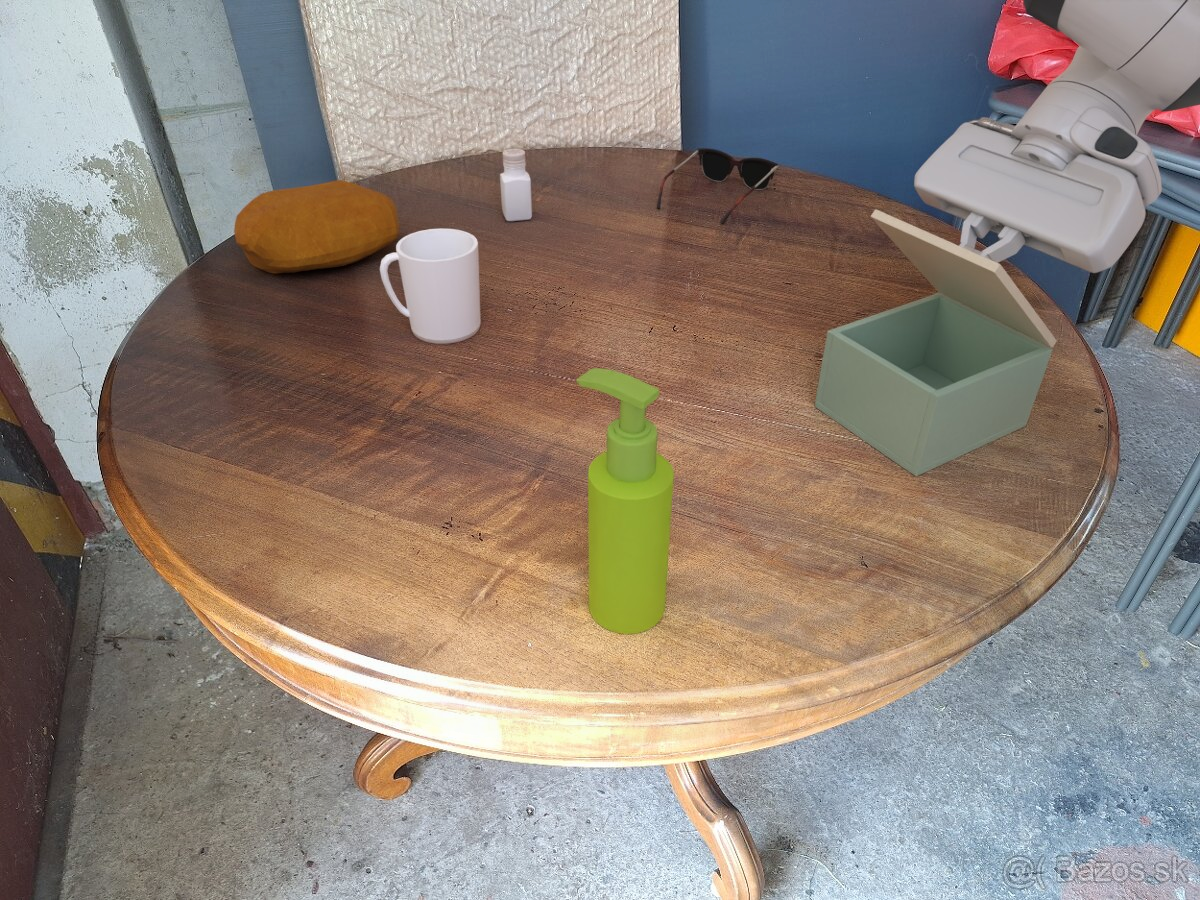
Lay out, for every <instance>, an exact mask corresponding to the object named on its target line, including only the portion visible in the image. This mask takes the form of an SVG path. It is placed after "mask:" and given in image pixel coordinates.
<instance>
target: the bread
mask: <svg viewBox="0 0 1200 900" xmlns="http://www.w3.org/2000/svg"><path fill="white" fill-rule="evenodd" d="M397 211H398V210H397V206H396V205H395V203H394V201H393V199H392V198H391V197H389V196H388V195H386V194H384V193H383V192H380V191H377V190H374V189H371V188H368V187H366V186H362V185H360V184H358V183H354V182H350V181H346V180H342V179H337V180H332V181H327V182H323V183H318V184H312V185H311V184H310V185H306V186H305V185H304V186H298V187H290V188H289V187H288V188H281V189H273V190H271V191H266V192H262V193H260V194H259V195H257V196H256V197H254V198H253V199H251V200H250V201H249V202H248V203H247V204H246V205H245V206H244V207H243V208H242V209H241V210H240V211H239V213H237V215H236V218H235V222H234V228H233V229H234V230H233V231H234V232H233V234H234V237H235V242H236V244H237V246H239V247H240V249H241V250H242V251H243V253H244V255H245V258H246V259H247V260H248V262H249V263H250V265H252V266H253V267H255V268H256V269H259V270H262V271H263V272H266V273H270V274H289V273H290V274H291V273H299V272H304V271H313V270H322V269H332V268H339V267H344V266H348V265H350V264H354V263H357V262H358V261H361V260H363V259H364V258H367V257H370V256H372V255H373V254H376V253H377V252H379V251H381V250H382V249H384V248H386V247H387V246H389V245H390V244H392V243H393V242H394V241H395V240H396V239H397V238H398V237H399V234H400V224H399V218H398V212H397Z"/></svg>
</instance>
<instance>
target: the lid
mask: <svg viewBox="0 0 1200 900" xmlns="http://www.w3.org/2000/svg"><path fill="white" fill-rule="evenodd" d="M870 218H871V219H872V220H873V221H874V222H875V224H876V225H877V226H878V227H879V228H880V229H881V230H882V231H883V232H884V233H885V235H886V236H887V237H888V238H889V239H890V240H891V241H892V243H894V244H895V246H896V247H897V248H898V250H900V251H901V253H902V254H904V256H905V257H906V258H907V259H908V260H909V261H910V263H911V264H912V265H913V266H914V267H915V268H916V269H917V270H918V271H919V272H920V274H921V275H922V276H923V277H924V278H925V279H926V280H927V281H928V282H929V284H930V285H931V286H932V287H933V288H934V289H935V291H937V293H941V294H943V295H945V296H947V297H949V298H951V299H953V300H955V301H957V302H959V303H961V304H963V305H965V306H967V307H969V308H971V309H973V310H975V311H977V312H979V313H981V314H983V315H985V316H987V317H989V318H991V319H993V320H995V321H997V322H999V323H1001V324H1003V325H1005V326H1007V327H1009V328H1011V329H1013V330H1015V331H1017V332H1019V333H1021V334H1023V335H1025V336H1027V337H1029V338H1031V339H1033V340H1035V341H1037V342H1039V343H1041V344H1043V345H1045V346H1048V347H1050V348H1052V349H1053V347H1054V346H1055V345H1056V343H1057V342H1058V340H1057V338H1056V337H1055V336H1054V335H1053V333H1052V331H1050V329H1049V328H1048V326H1047V325H1046V324H1045V322H1044V321H1043V320H1042V318H1041V317H1040V316H1039V314H1038V312H1036V310H1035V309H1034V308H1033V307H1032V305H1031V304H1030V302H1029V301H1028V300H1027V298H1026V297H1025V295H1024V294H1023V293H1022V292H1021V290H1020V289H1019V288H1018V286H1017V284H1016V283H1015V282H1014V280H1013V279H1012V278H1011V277H1010V275H1009V274H1008V273H1007V271H1006V270H1005V268H1004V267H1003V266H1002V264H1001V263H1000V262H998V263H997V262H994V261H992V260H990V259H988V258H985V257H983V256H981V255H978V254H976V253H974V252H972V251H969V250H967V249H965V248H963V247H960V246H959V244H955V243H954V242H951V241H949V240H947V239H945V238H942V237H940V236H937V235H936V234H934V233H931V232H929V231H927V230H924V229H922V228H919V227H917V226H915V225H912V224H910V223H908V222H906V221H904V220H901V219H899V218H896V216H893V215H891V214H887V213H885V212H883V211H881V210H878V209H877V208H876V209H874V210H873V212H872V213H871V215H870Z"/></svg>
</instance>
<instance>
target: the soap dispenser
mask: <svg viewBox="0 0 1200 900" xmlns="http://www.w3.org/2000/svg"><path fill="white" fill-rule="evenodd" d="M575 381H576V383H577V384H578V385H579V387H582V388H587V389H592V390H596V391H598V392H602V393H604V394H607V395H608V396H612V397H614V398H615V399H617V400H619V418H615V419H614V420H613V421H611V422H610V423H609V424H608V426H607V428H606V451H603V452H602V453H600V454H598V455H597V456H596V457H595V458H594V459H593V460H592V461H591V463H590V464H589V467H588V471H587V472H588V473H587V494H588V495H587V499H588V500H587V506H588V507H587V508H588V509H587V511H588V512H587V513H588V514H587V515H588V517H587V518H588V519H587V520H588V521H587V523H588V527H587V529H588V609H589V613H590V615H591V617H592V619H593V620H594V621H595V622H596V623H597V624H598V625H599V626H601V627H602V628H604V629H605V630H608V631H610V632H613V633H616V634H621V635H622V634H623V635H632V634H639V633H643V632H646V631H648V630H650V629H652V628H653V627H655V626H656V625H657V624H658V623H659V622H660V621H661V620H662V618H663V617H664V615H665V611H666V598H667V584H668V583H667V582H668V571H669V570H668V569H669V568H668V567H669V553H670V537H671V526H672V525H671V522H672V509H673V508H672V507H673V496H674V495H673V493H674V477H675V472H674V468H673V466H672V464H671V463H670V461H669V460H668V459H667V458H665V456H663V455H661V454H660V453H658V452H657V451H658V428H657V426H656V424H655V423H653V421H651V420H649V418H647V417H646V415H647V407H648V406H650V405H651V404H652V403H654V402H655V401H656V400H657V399H658V398H659V397H660V389H659V388H657V387H655V386H653V385H651V384H649V383H647V382H645V381H644V380H643V381H642V380H641V379H639V378H636V377H634V376H631V375H629V374H627V373H623V372H620V371H618V370H617V371H616V370H614V369H613V370H612V369H607V368H599V367H592V368H590V369H589V370H587V371H586V372H585V373H583V374H581V376H579V377H577V378H576V379H575Z"/></svg>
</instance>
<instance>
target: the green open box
mask: <svg viewBox="0 0 1200 900" xmlns="http://www.w3.org/2000/svg"><path fill="white" fill-rule="evenodd" d="M824 344H825V345H824V349H823V354H822V360H821V366H820V370H819V371H820V372H819V378H818V383H817V387H816V388H817V389H816V394H815V402H814V408H816V410H817V409H818V410H819V411H820V412H822V413H823V414H824V415H826V416H827V417H829V418H830V419H832V420H833V421H835V422H836V423H838V424H839V425H840V426H842V427H843V428H845V429H846V430H848V431H849V432H851V433H852V434H853V435H855V436H857V437H858V438H859V439H860V440H862V441H863V442H865V443H866V444H868V445H869V446H871V447H873V448H874V449H875V450H876V451H878V452H880V453H881V454H882V455H884V456H885V457H887V458H888V459H890V460H892V461H893V462H894V463H895V464H897V465H898V466H900V467H901V468H903V469H904V470H906V471H907V472H908V473H910V474H911V475H913V476H914V477H918V476H920V475H922V474H925V473H927V472H929V471H931V470H933V469H935V468H938V467H941V466H942V465H945V464H946V463H949V462H950V461H953V460H955V459H958V458H960V457H961V456H962V457H963V456H964V455H966V454H968V453H970V452H973V451H975V450H977V449H980V448H982V447H984V446H987V445H988V444H990V443H993V442H994V441H996V440H998V439H1001V438H1003V437H1005V436H1008V435H1009V434H1012V433H1014V432H1016V431H1018V430H1020V429H1022V428H1024V427H1027V424H1028V422H1029V418H1030V416H1031V413H1032V410H1033V407H1034V404H1035V402H1036V399H1037V396H1038V394H1039V390H1040V387H1041V384H1042V382H1043V380H1044V379H1043V378H1044V376H1045V373H1046V370H1047V367H1048V365H1049V361H1050V359H1051V356H1052V354H1053V351H1054V350H1053V347H1052V348H1051V347H1049V346H1047V345H1045V344H1043V343H1041V342H1039V341H1036V340H1034V339H1032V338H1030V337H1028V336H1026V335H1024V334H1022V333H1020V332H1018V331H1016V330H1014V329H1012V328H1010V327H1008V326H1006V325H1004V324H1002V323H1000V322H998V321H996V320H994V319H992V318H990V317H988V316H986V315H984V314H982V313H980V312H978V311H976V310H974V309H972V308H970V307H968V306H966V305H964V304H962V303H960V302H958V301H956V300H954V299H952V298H950V297H948V296H946V295H944V294H942V293H940V292H937V293H934V294H931V295H929V296H928V295H927V296H926V297H922V298H920V299H917V300H914V301H911V302H908V303H905V304H902V305H899V306H896V307H893V308H890V309H887V310H885V311H881V312H879V313H875V314H873V315H870V316H867V317H864V318H861V319H858V320H855V321H852V322H850V323H847V324H844V325H840V326H838V327H835V328H832V329H829V330H827V331H826V338H825V343H824Z"/></svg>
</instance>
